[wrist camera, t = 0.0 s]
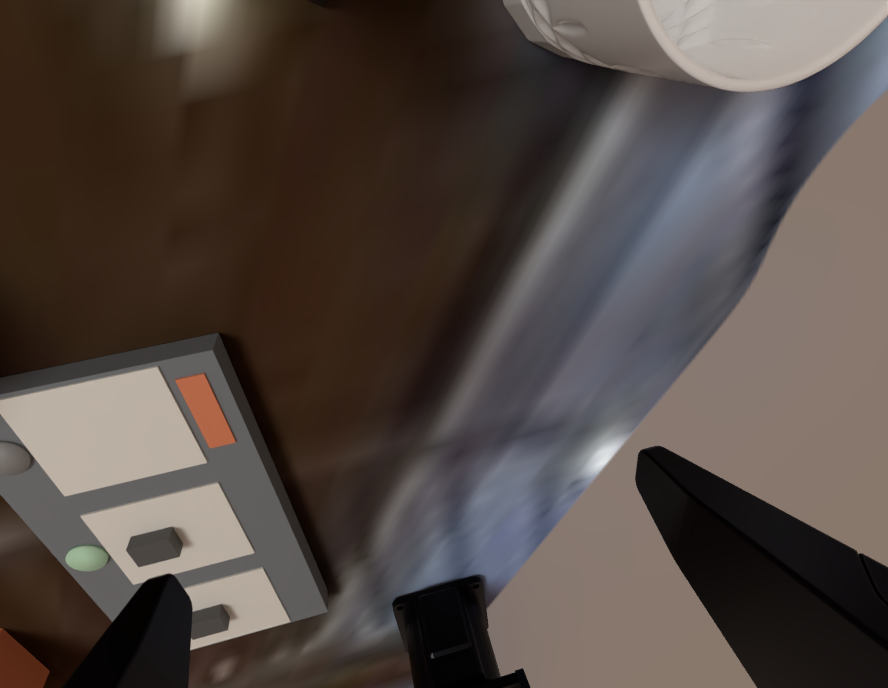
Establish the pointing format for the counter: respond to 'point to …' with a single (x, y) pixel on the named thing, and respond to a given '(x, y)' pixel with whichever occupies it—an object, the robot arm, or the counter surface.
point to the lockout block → (19, 665)
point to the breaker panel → (158, 486)
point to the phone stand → (319, 2)
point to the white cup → (702, 36)
